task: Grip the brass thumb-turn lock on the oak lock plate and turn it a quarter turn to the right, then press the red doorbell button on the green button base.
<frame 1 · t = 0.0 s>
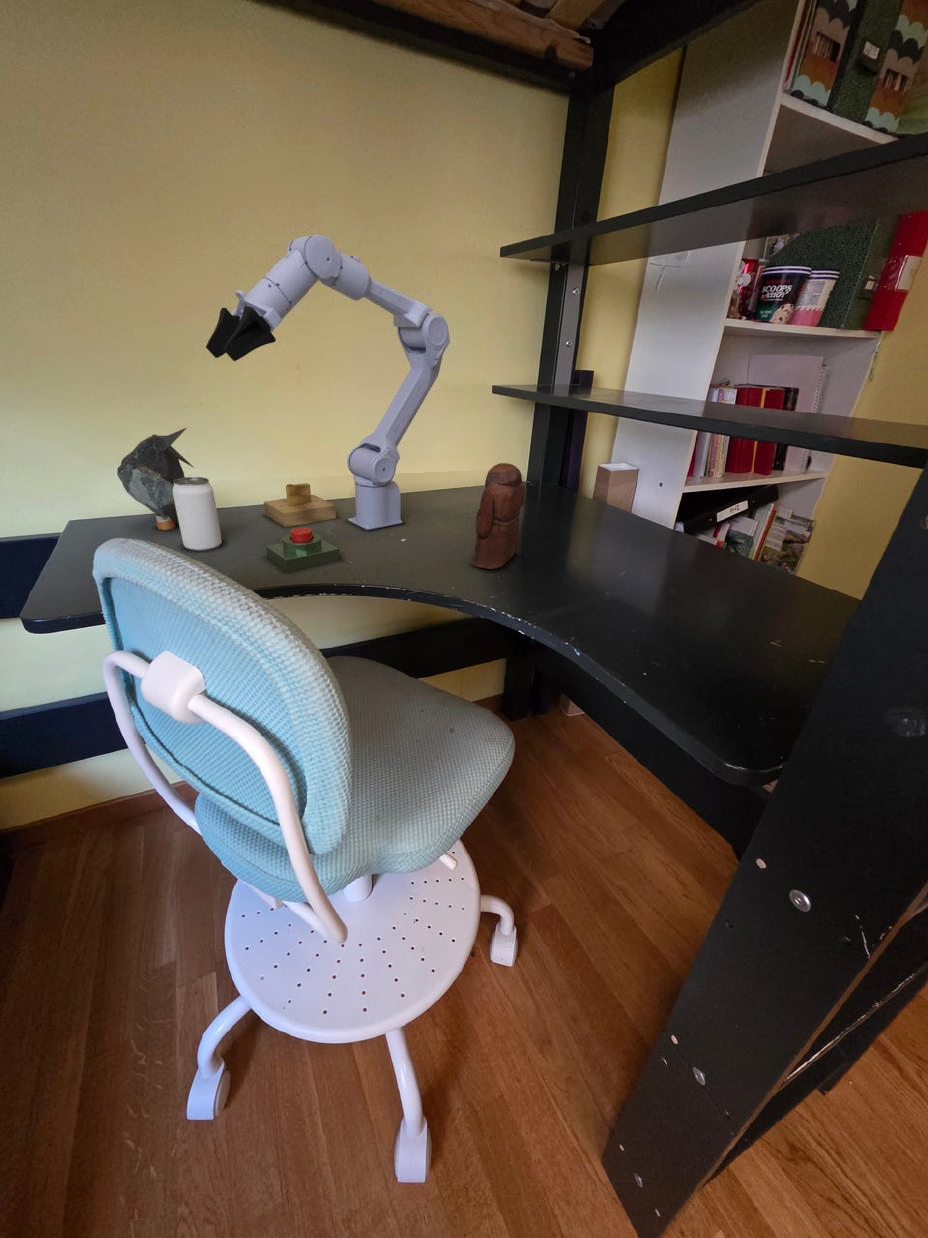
hand: (219, 353, 81), 32 cm above the table, tool tilted 50°, fingers open, 7 cm apart
lock plate: (300, 516, 114), on the table
can: (203, 546, 95), on the table
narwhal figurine: (171, 524, 105), on the table
bell button: (301, 535, 90), point 4 cm above the table, slide at 0.1 cm
wooden figurine: (493, 561, 98), on the table
lock knob: (298, 493, 111), point 5 cm above the table, hinge at 0.0°
green button base: (303, 558, 93), on the table
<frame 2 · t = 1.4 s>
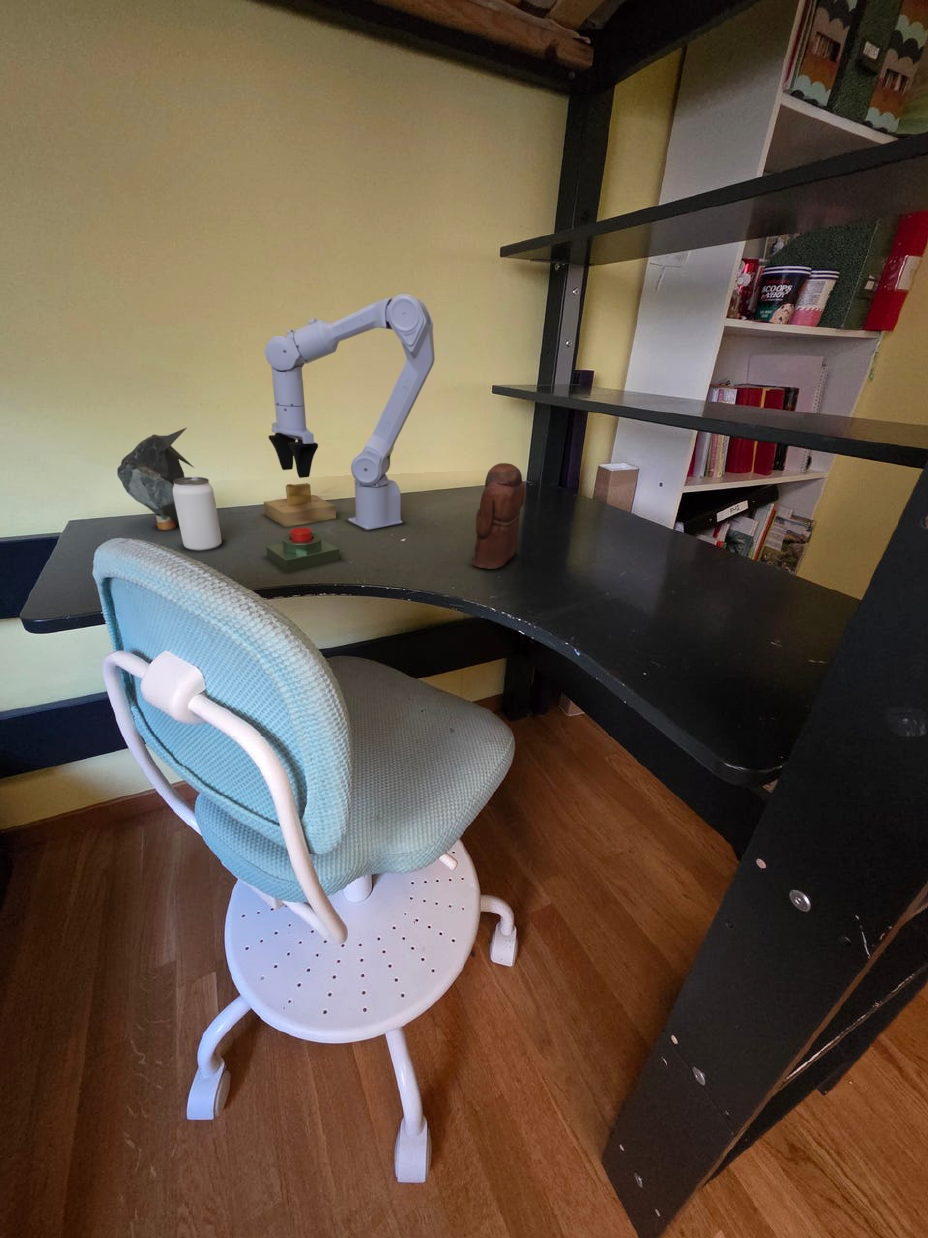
hand: (295, 473, 109), 10 cm above the table, tool pointing down, fingers open, 7 cm apart
nothing on the table moved.
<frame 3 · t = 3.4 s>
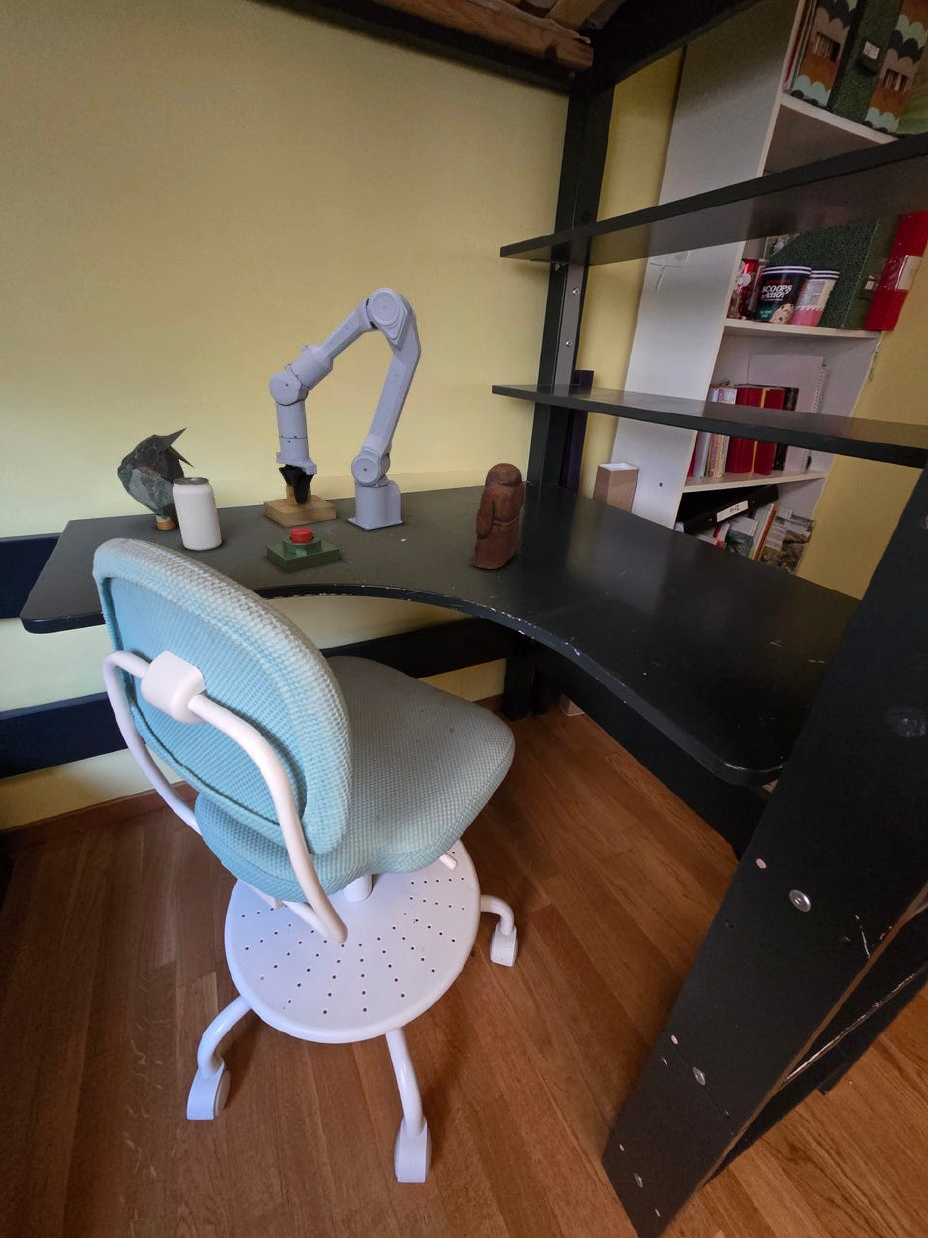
hand: (299, 501, 112), 4 cm above the table, tool pointing down, fingers closed on lock knob
lock knob: (298, 493, 111), point 5 cm above the table, hinge at 0.0°, touching gripper
everything else where it was.
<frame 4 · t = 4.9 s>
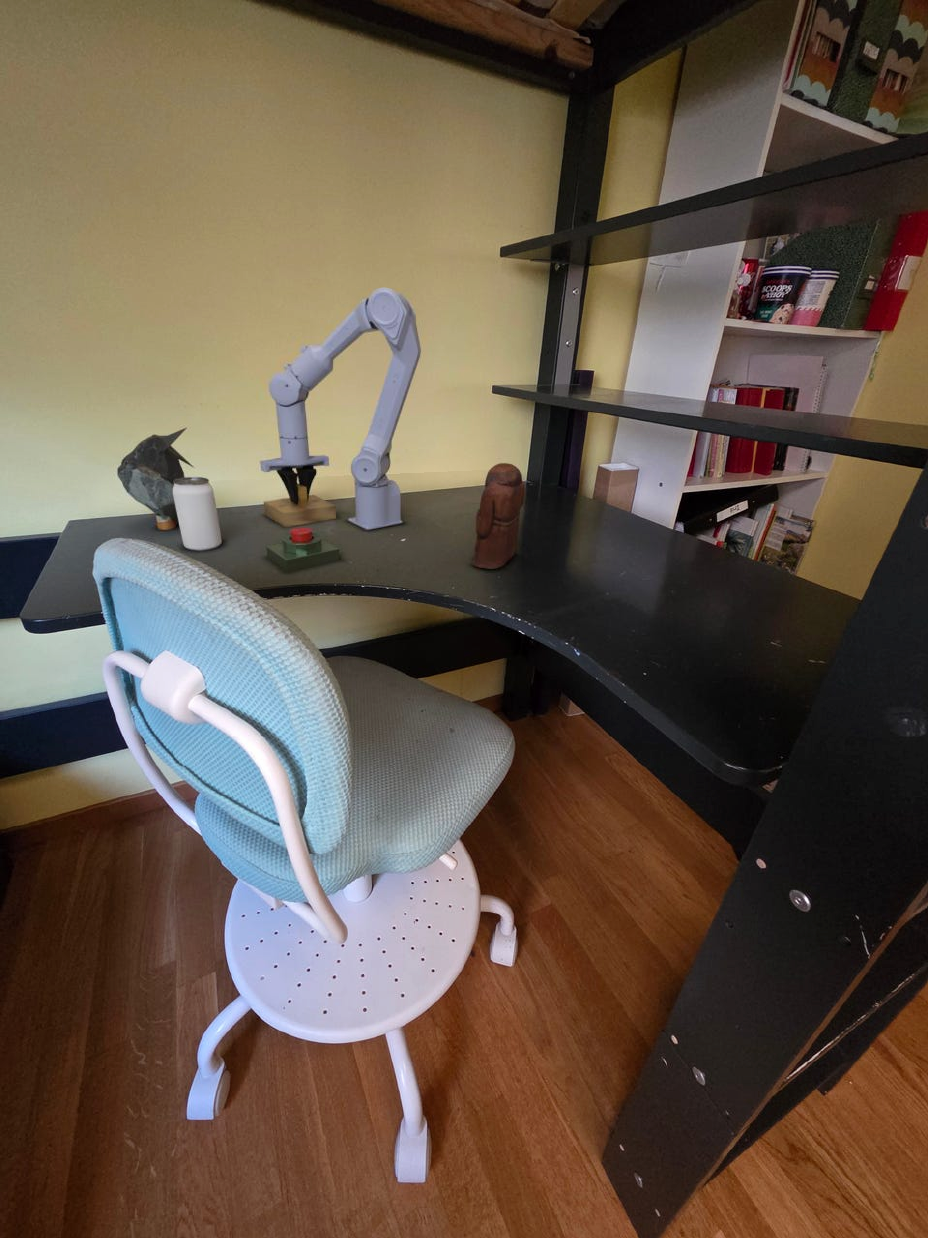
hand: (299, 501, 112), 3 cm above the table, tool pointing down, fingers closed
lock knob: (298, 493, 111), point 5 cm above the table, hinge at -89.9°
everything else where it was.
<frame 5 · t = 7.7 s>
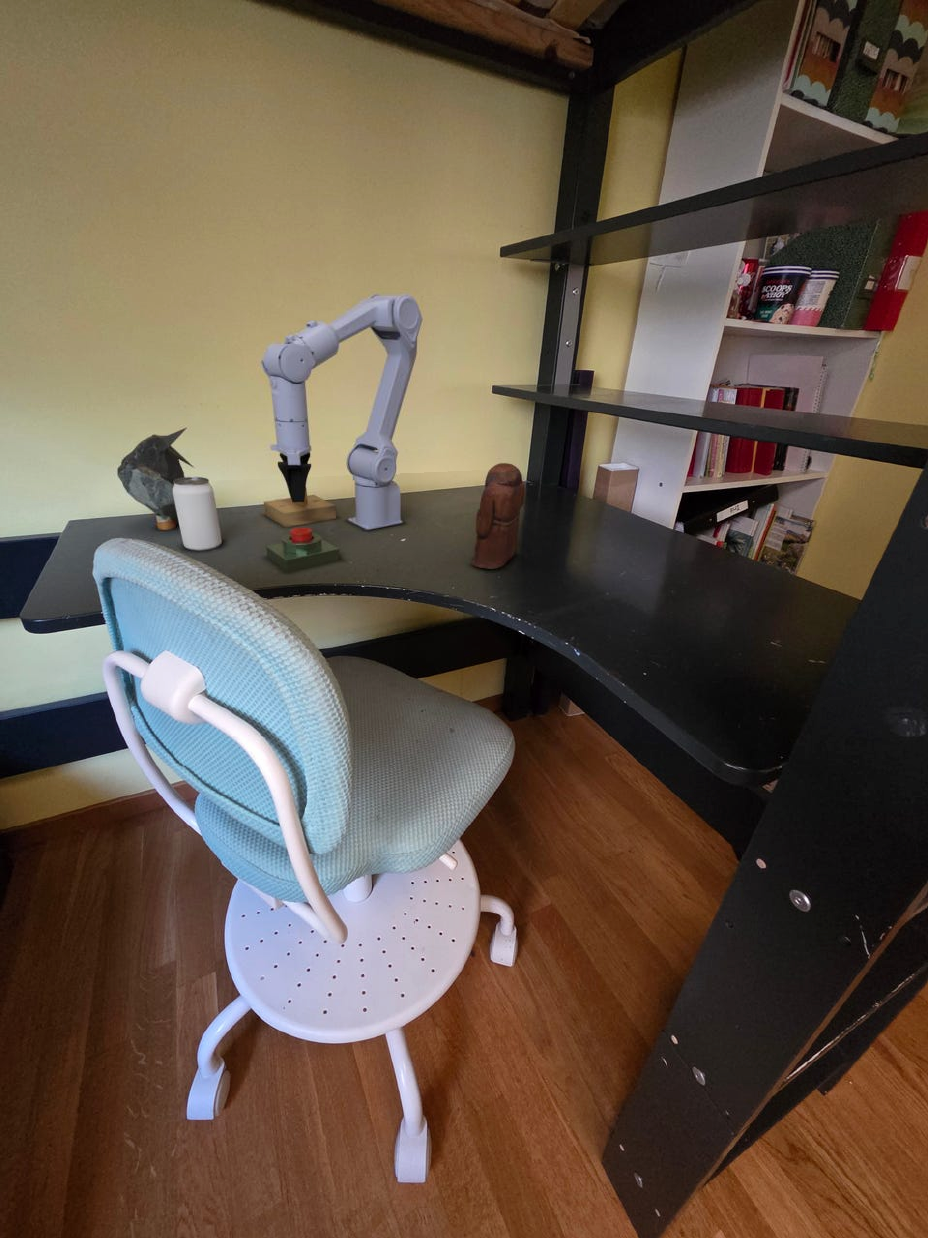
hand: (298, 496, 97), 9 cm above the table, tool pointing down, fingers open, 7 cm apart
nothing on the table moved.
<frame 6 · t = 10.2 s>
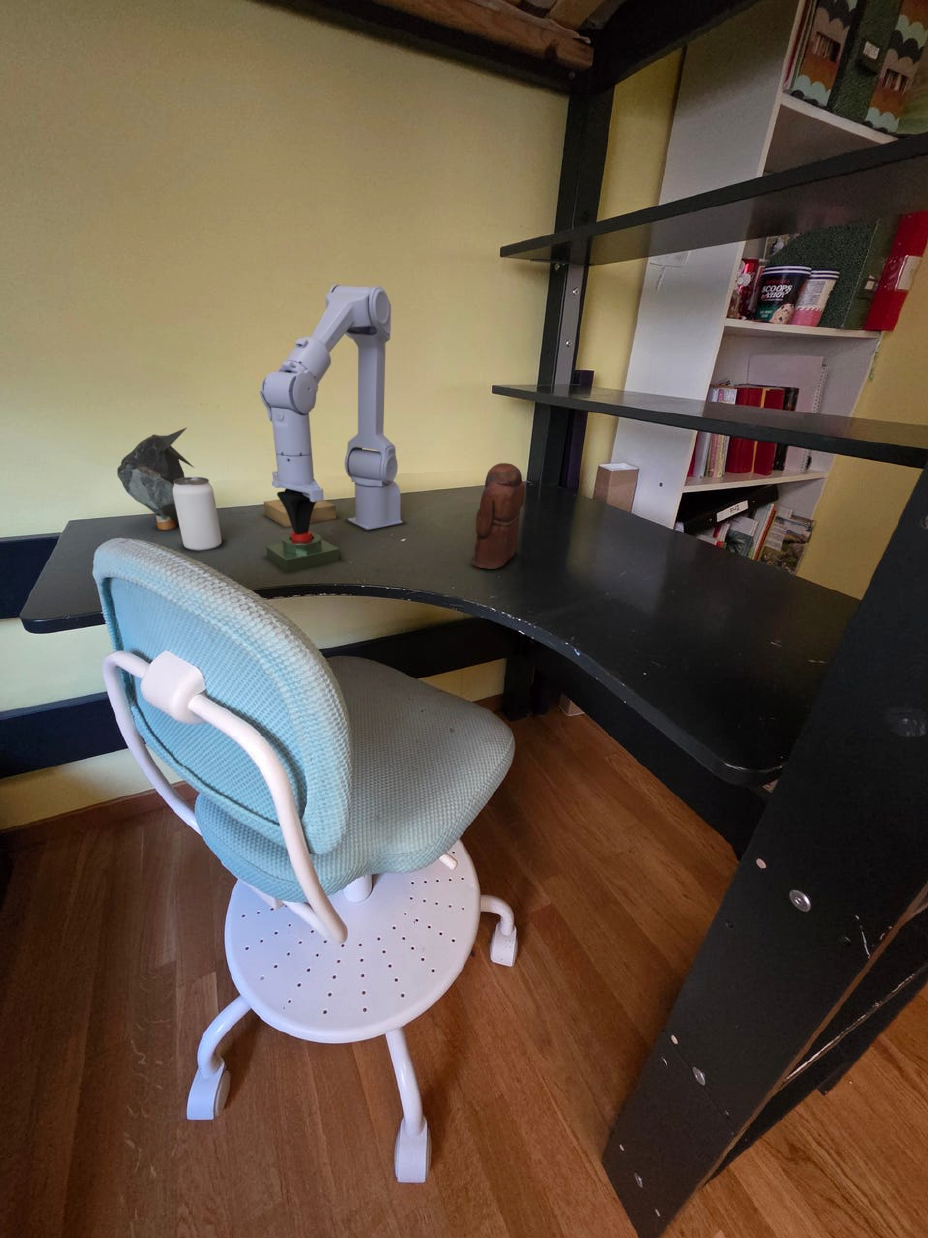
hand: (301, 532, 90), 5 cm above the table, tool pointing down, fingers closed, pressing on bell button
bell button: (301, 536, 91), point 4 cm above the table, slide at -0.2 cm, touching gripper
everything else where it was.
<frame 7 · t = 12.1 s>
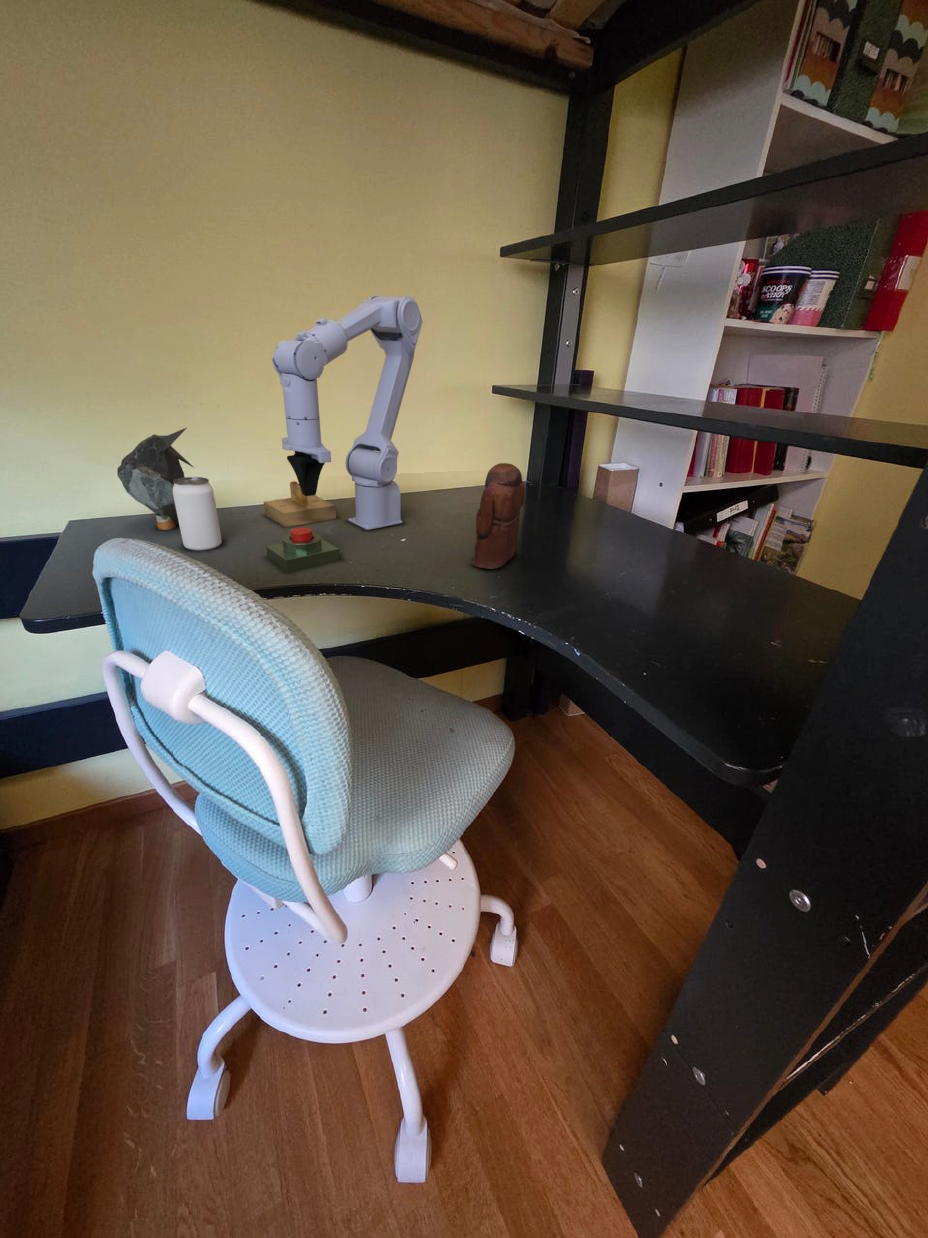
hand: (309, 494, 96), 9 cm above the table, tool pointing down, fingers closed
bell button: (301, 535, 90), point 4 cm above the table, slide at 0.1 cm
everything else where it was.
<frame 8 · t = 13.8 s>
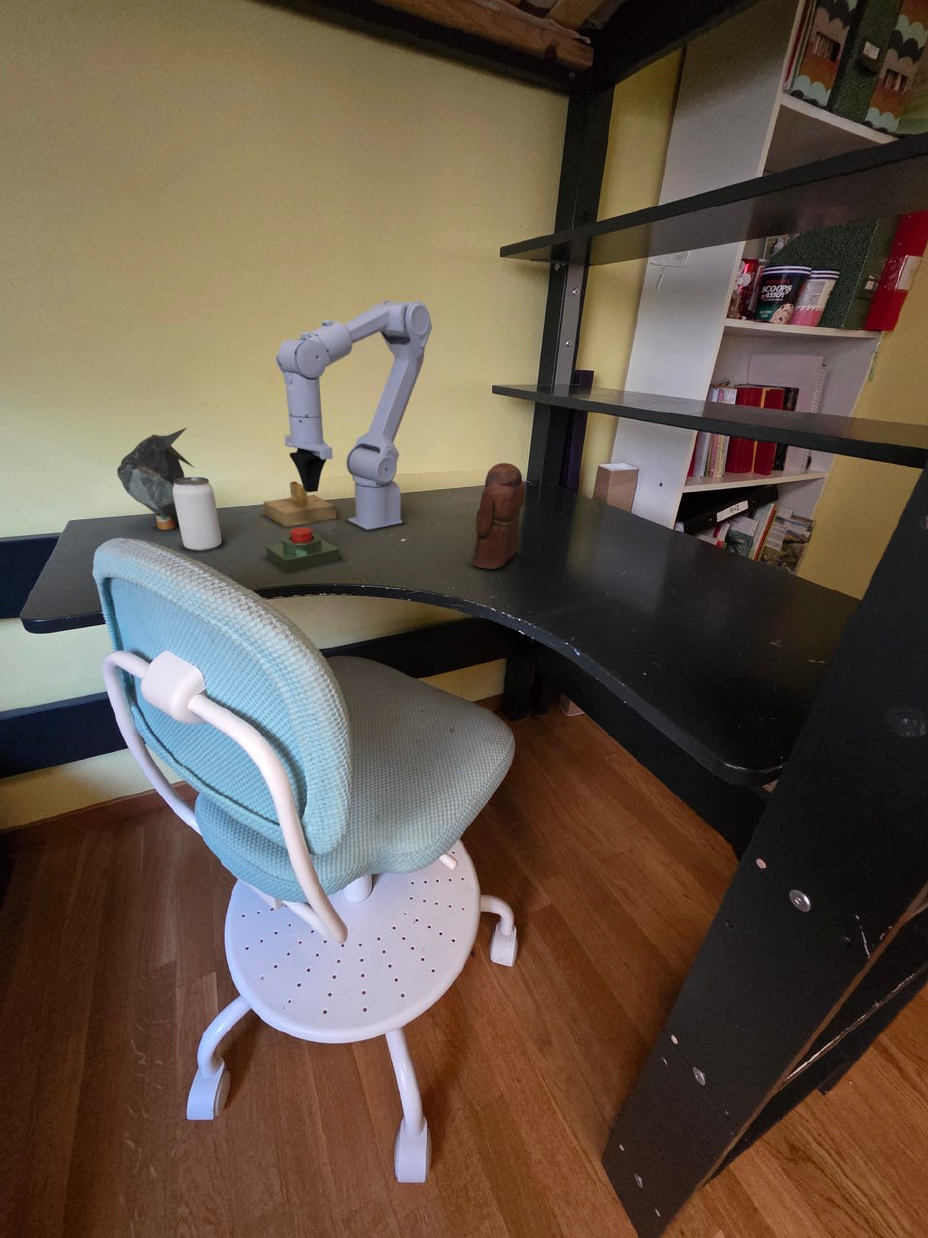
hand: (311, 491, 98), 9 cm above the table, tool pointing down, fingers closed
nothing on the table moved.
at the end: lock knob at -90° (first picture: +0°); bell button pushed in 1.2 cm at the most during the clip, back to where it started at the end; bell button slide at 0.1 cm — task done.
